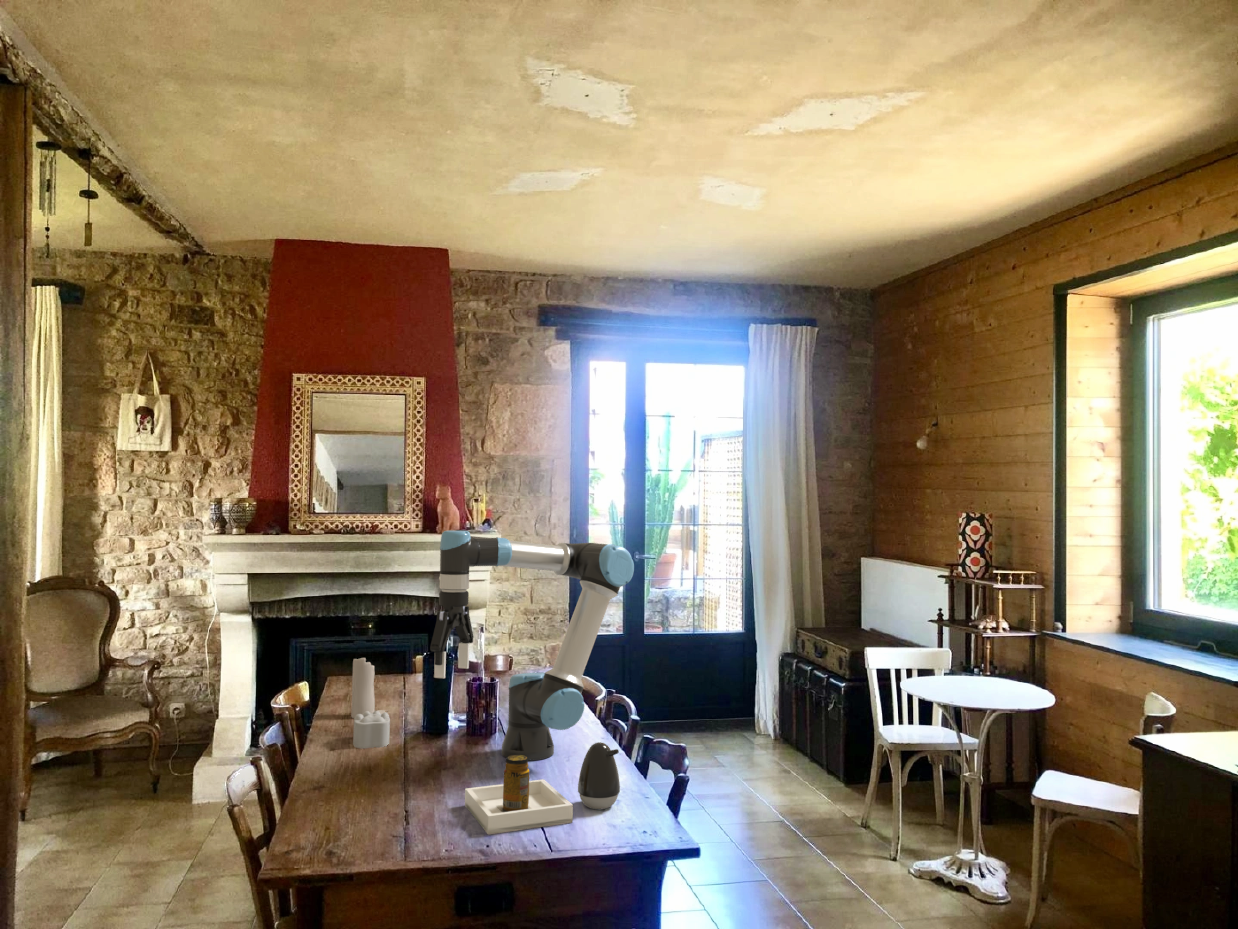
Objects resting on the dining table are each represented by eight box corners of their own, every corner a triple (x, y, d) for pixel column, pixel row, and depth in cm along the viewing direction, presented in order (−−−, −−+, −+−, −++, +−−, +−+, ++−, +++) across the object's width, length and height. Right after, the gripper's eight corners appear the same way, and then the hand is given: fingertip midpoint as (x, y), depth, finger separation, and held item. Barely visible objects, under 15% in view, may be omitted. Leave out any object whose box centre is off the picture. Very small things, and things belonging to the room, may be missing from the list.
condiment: (524, 802, 215) (525, 752, 215) (537, 814, 207) (538, 762, 208) (495, 806, 212) (496, 755, 212) (507, 818, 204) (508, 765, 205)
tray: (543, 795, 223) (543, 779, 223) (572, 822, 205) (572, 805, 205) (464, 805, 215) (465, 788, 215) (488, 834, 197) (488, 816, 197)
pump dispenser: (605, 816, 209) (606, 751, 210) (569, 807, 215) (570, 744, 215) (628, 804, 218) (629, 741, 219) (592, 796, 224) (593, 734, 224)
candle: (393, 712, 305) (394, 653, 306) (361, 720, 294) (363, 659, 294) (378, 709, 309) (380, 651, 310) (346, 717, 297) (348, 656, 298)
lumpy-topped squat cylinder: (353, 749, 260) (354, 719, 261) (352, 737, 273) (353, 709, 273) (390, 746, 264) (391, 717, 264) (387, 735, 276) (388, 707, 276)
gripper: (461, 585, 244) (459, 663, 244) (417, 594, 220) (415, 681, 220) (487, 586, 242) (485, 665, 242) (445, 595, 218) (442, 683, 218)
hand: (451, 673), depth 231 cm, fingers open, 13 cm apart
